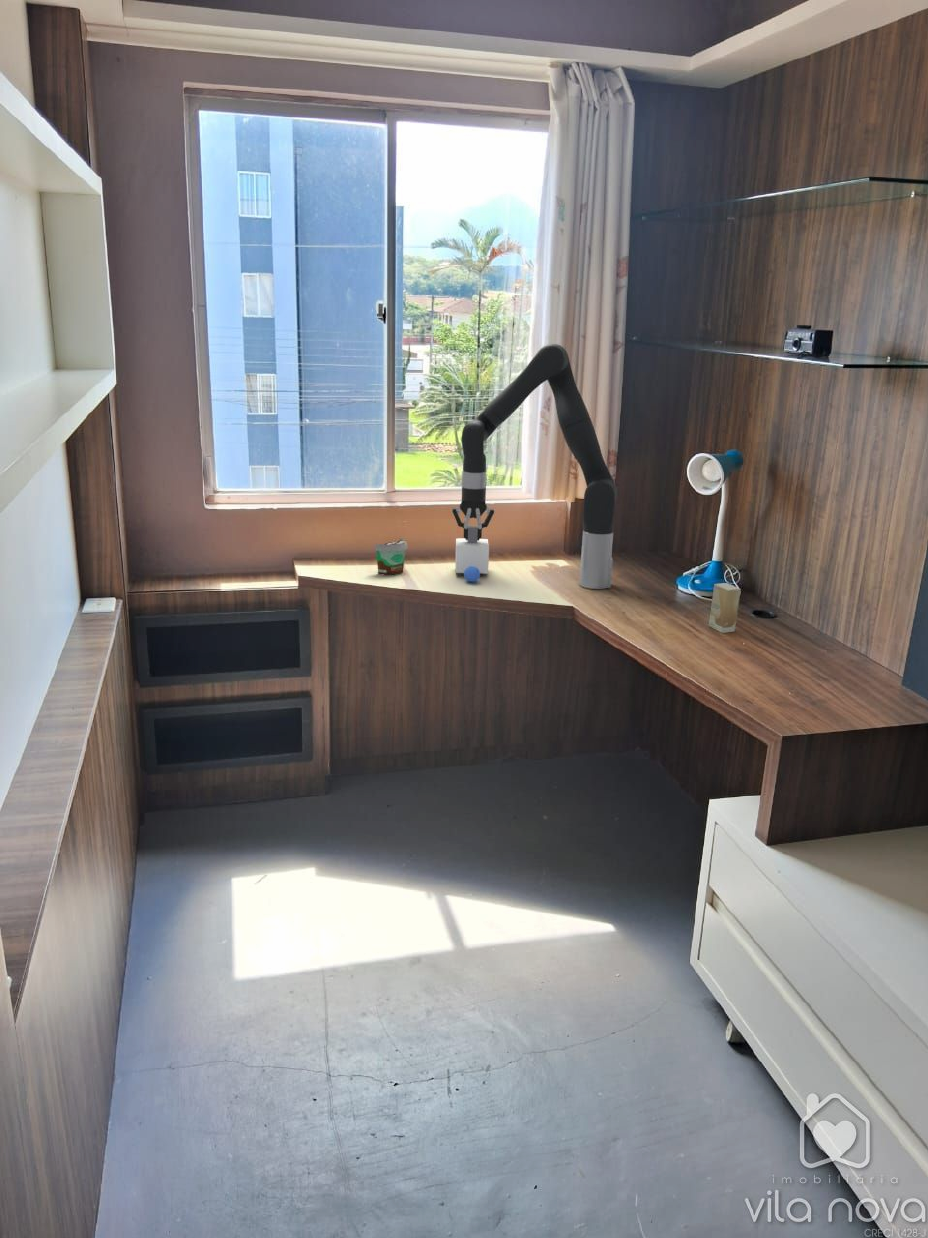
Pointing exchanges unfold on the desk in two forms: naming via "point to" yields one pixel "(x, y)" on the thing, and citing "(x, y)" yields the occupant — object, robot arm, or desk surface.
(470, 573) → the ball
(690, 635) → the desk surface
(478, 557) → the white block with peg
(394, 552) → the food container
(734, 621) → the skincare box
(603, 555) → the robot arm
